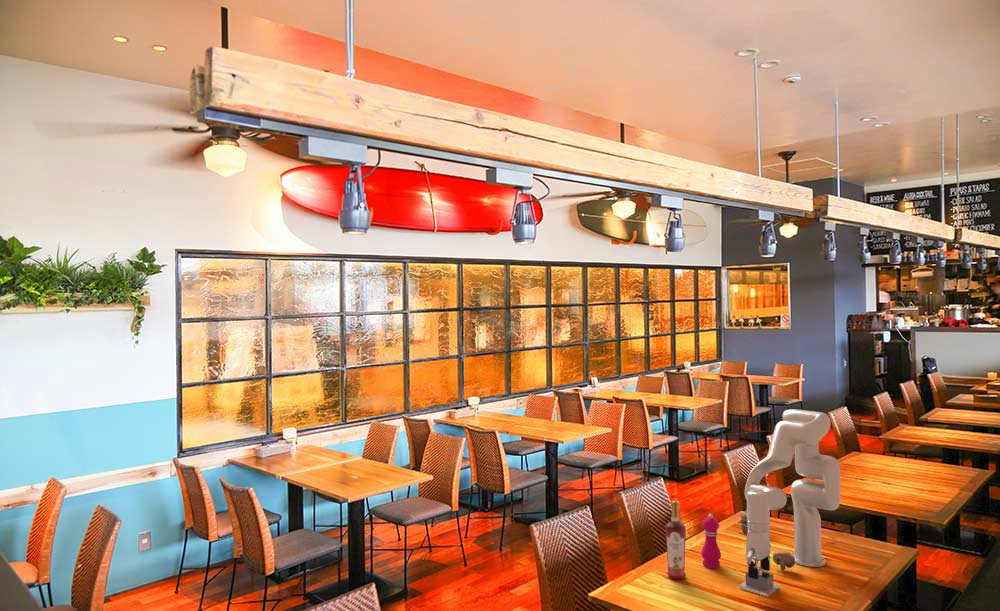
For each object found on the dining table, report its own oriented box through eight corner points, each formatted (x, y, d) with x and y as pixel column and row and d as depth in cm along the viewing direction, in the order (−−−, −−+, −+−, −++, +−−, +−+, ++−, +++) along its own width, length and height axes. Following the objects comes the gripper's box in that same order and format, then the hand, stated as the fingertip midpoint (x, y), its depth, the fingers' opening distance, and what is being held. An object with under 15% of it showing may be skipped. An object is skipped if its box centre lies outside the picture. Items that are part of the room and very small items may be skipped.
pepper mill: (722, 569, 244) (721, 517, 244) (702, 568, 245) (701, 516, 245) (719, 562, 251) (718, 511, 251) (700, 561, 252) (699, 510, 252)
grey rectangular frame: (745, 584, 228) (745, 572, 228) (752, 579, 232) (752, 568, 232) (766, 590, 223) (766, 578, 223) (773, 585, 227) (773, 574, 227)
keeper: (751, 580, 234) (751, 560, 235) (779, 588, 227) (779, 567, 227) (739, 588, 228) (739, 568, 228) (767, 597, 220) (767, 576, 220)
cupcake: (743, 537, 278) (742, 514, 278) (738, 529, 288) (738, 507, 288) (766, 538, 277) (766, 514, 277) (761, 530, 286) (760, 508, 286)
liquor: (687, 574, 240) (685, 499, 240) (686, 582, 233) (684, 505, 233) (666, 572, 242) (665, 498, 243) (665, 580, 235) (664, 503, 236)
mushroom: (769, 569, 244) (769, 548, 244) (779, 565, 247) (778, 545, 247) (788, 576, 237) (787, 554, 237) (797, 572, 241) (797, 551, 241)
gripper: (758, 517, 236) (759, 564, 236) (737, 529, 224) (737, 578, 224) (779, 522, 231) (779, 569, 231) (758, 534, 219) (759, 584, 219)
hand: (759, 574), depth 227 cm, fingers open, 9 cm apart
